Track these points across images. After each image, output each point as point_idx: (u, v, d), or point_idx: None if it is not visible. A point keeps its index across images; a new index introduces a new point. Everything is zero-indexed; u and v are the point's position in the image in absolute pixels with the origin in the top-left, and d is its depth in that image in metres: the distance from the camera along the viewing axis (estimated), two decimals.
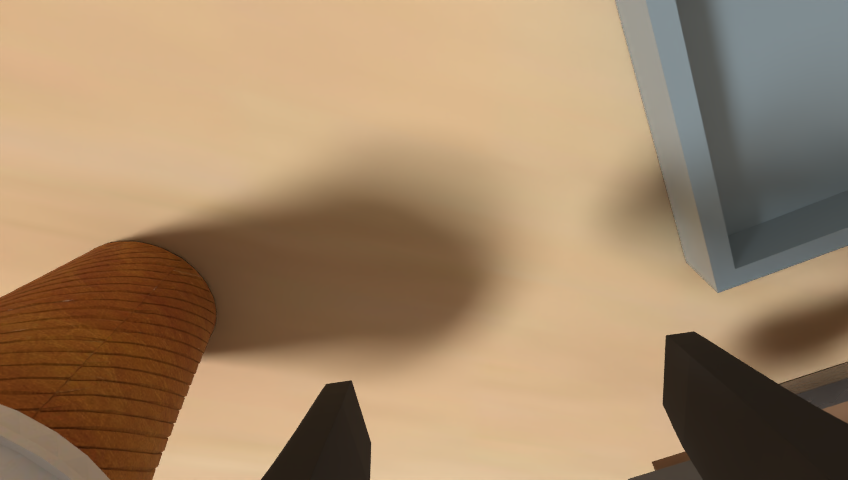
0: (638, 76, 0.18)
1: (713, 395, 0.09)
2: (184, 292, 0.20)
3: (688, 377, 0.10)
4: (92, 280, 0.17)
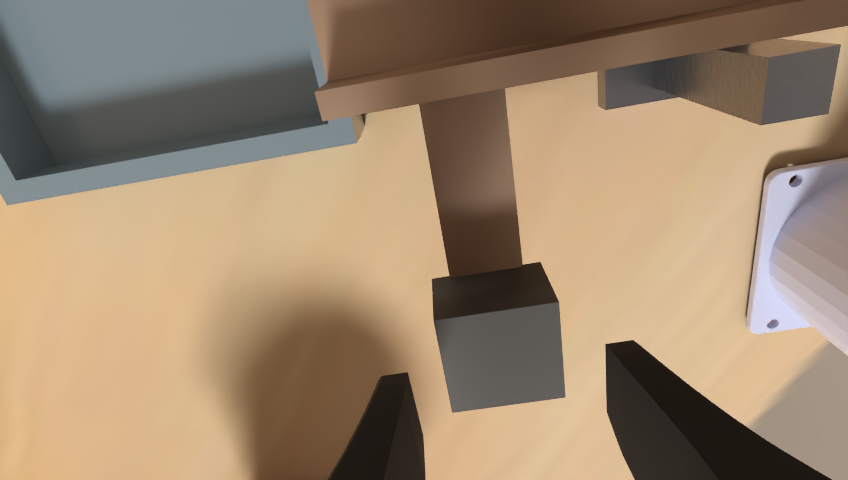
0: None
1: (642, 405, 0.09)
2: None
3: (623, 386, 0.10)
4: None
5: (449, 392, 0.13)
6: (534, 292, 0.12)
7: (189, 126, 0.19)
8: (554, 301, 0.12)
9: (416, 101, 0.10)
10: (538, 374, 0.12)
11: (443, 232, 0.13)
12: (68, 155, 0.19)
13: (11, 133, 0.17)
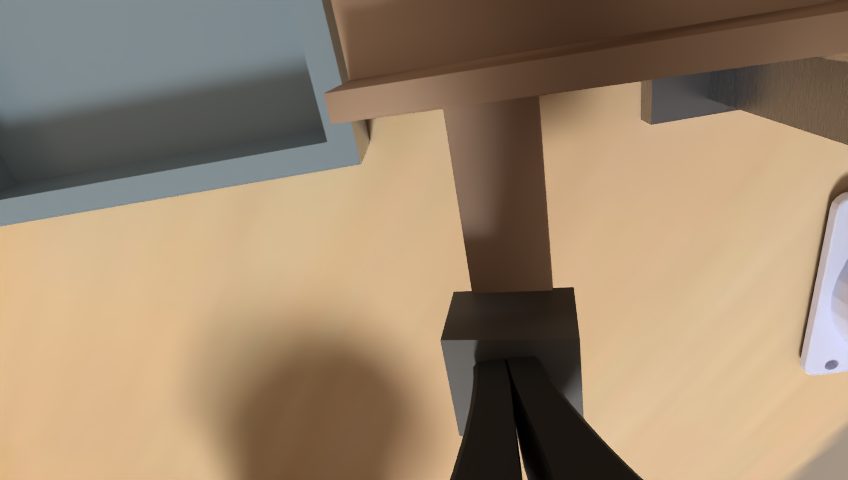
0: None
1: (525, 420, 0.09)
2: None
3: (516, 400, 0.10)
4: None
5: (456, 415, 0.12)
6: (556, 323, 0.11)
7: (168, 142, 0.16)
8: (574, 337, 0.10)
9: (428, 107, 0.09)
10: None
11: (466, 245, 0.12)
12: (30, 174, 0.17)
13: None
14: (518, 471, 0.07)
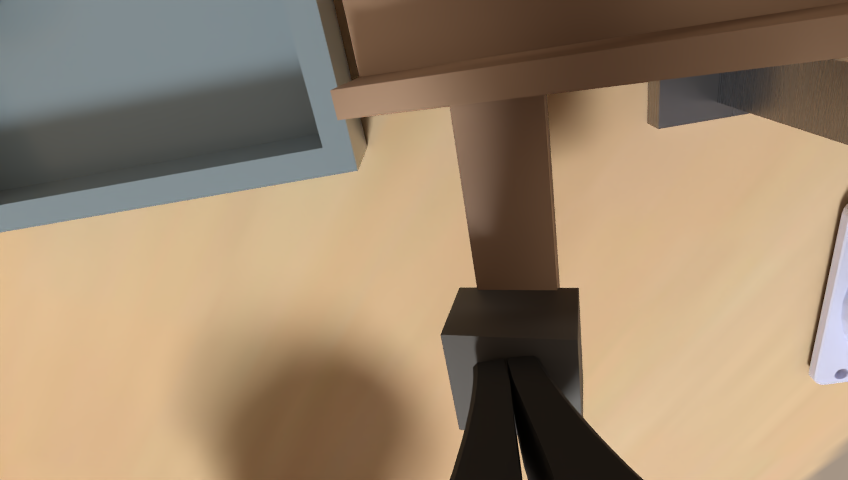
0: None
1: (525, 420, 0.09)
2: None
3: (516, 400, 0.10)
4: None
5: (456, 408, 0.12)
6: (556, 323, 0.11)
7: (157, 147, 0.15)
8: (572, 338, 0.10)
9: (430, 105, 0.09)
10: None
11: (471, 242, 0.12)
12: (14, 180, 0.16)
13: None
14: (518, 471, 0.07)
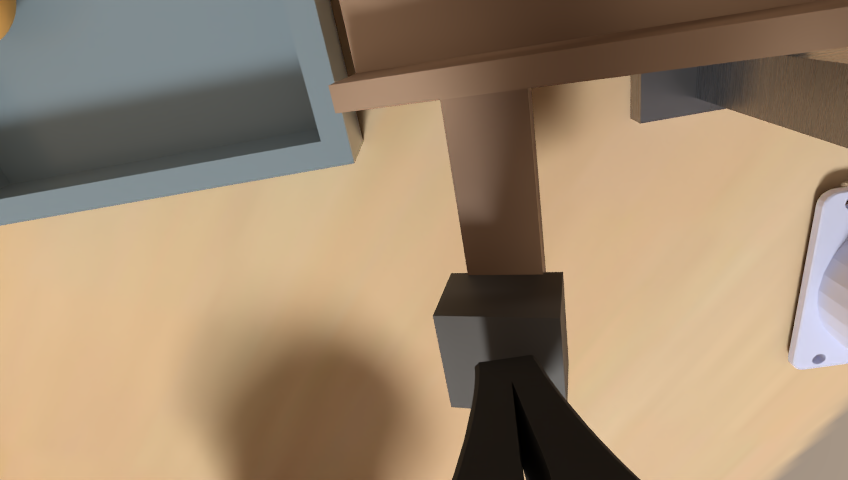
0: None
1: (523, 420, 0.09)
2: None
3: (514, 401, 0.10)
4: None
5: (448, 387, 0.13)
6: (541, 303, 0.12)
7: (161, 142, 0.16)
8: (556, 316, 0.11)
9: (421, 99, 0.10)
10: None
11: (462, 229, 0.13)
12: (23, 174, 0.17)
13: None
14: (520, 471, 0.07)
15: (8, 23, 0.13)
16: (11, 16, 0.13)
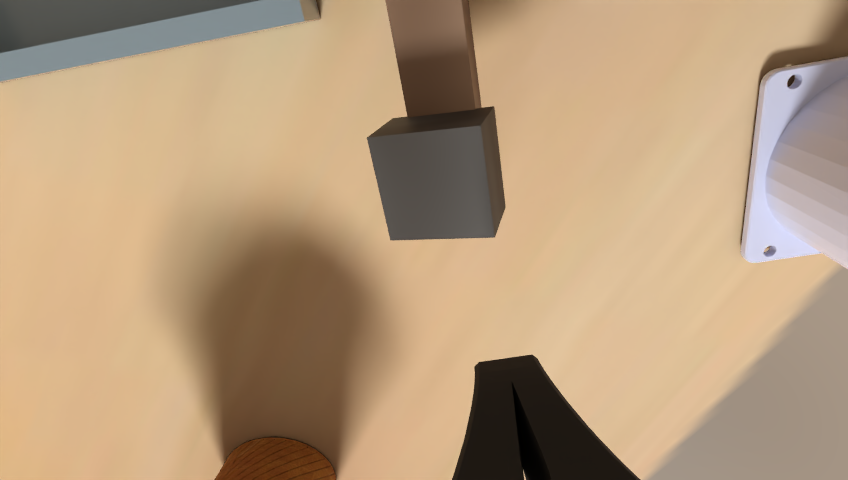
0: (91, 64, 0.18)
1: (523, 420, 0.09)
2: (246, 463, 0.25)
3: (514, 401, 0.10)
4: None
5: (386, 218, 0.14)
6: (466, 121, 0.12)
7: (128, 16, 0.17)
8: (477, 125, 0.12)
9: None
10: (467, 208, 0.13)
11: (399, 67, 0.13)
12: None
13: None
14: (520, 471, 0.07)
15: None
16: None
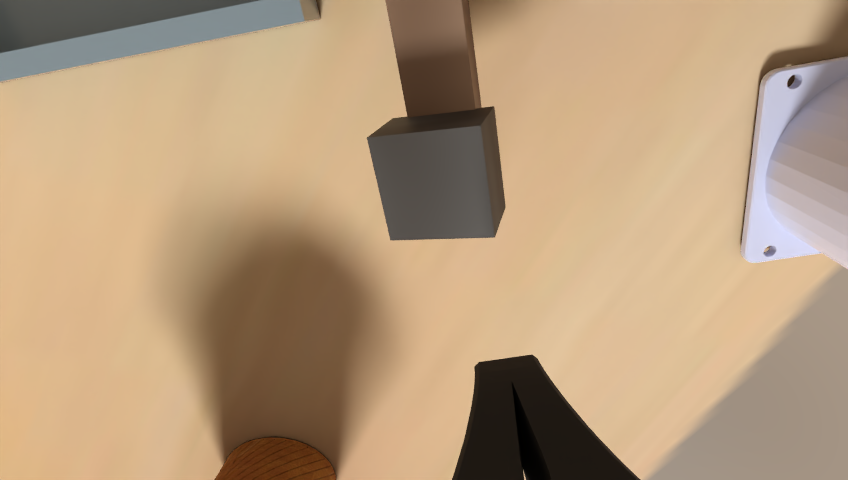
0: (91, 64, 0.18)
1: (523, 420, 0.09)
2: (246, 463, 0.25)
3: (514, 401, 0.10)
4: None
5: (386, 218, 0.14)
6: (466, 121, 0.12)
7: (128, 16, 0.17)
8: (477, 125, 0.12)
9: None
10: (467, 208, 0.13)
11: (399, 67, 0.13)
12: None
13: None
14: (520, 471, 0.07)
15: None
16: None
